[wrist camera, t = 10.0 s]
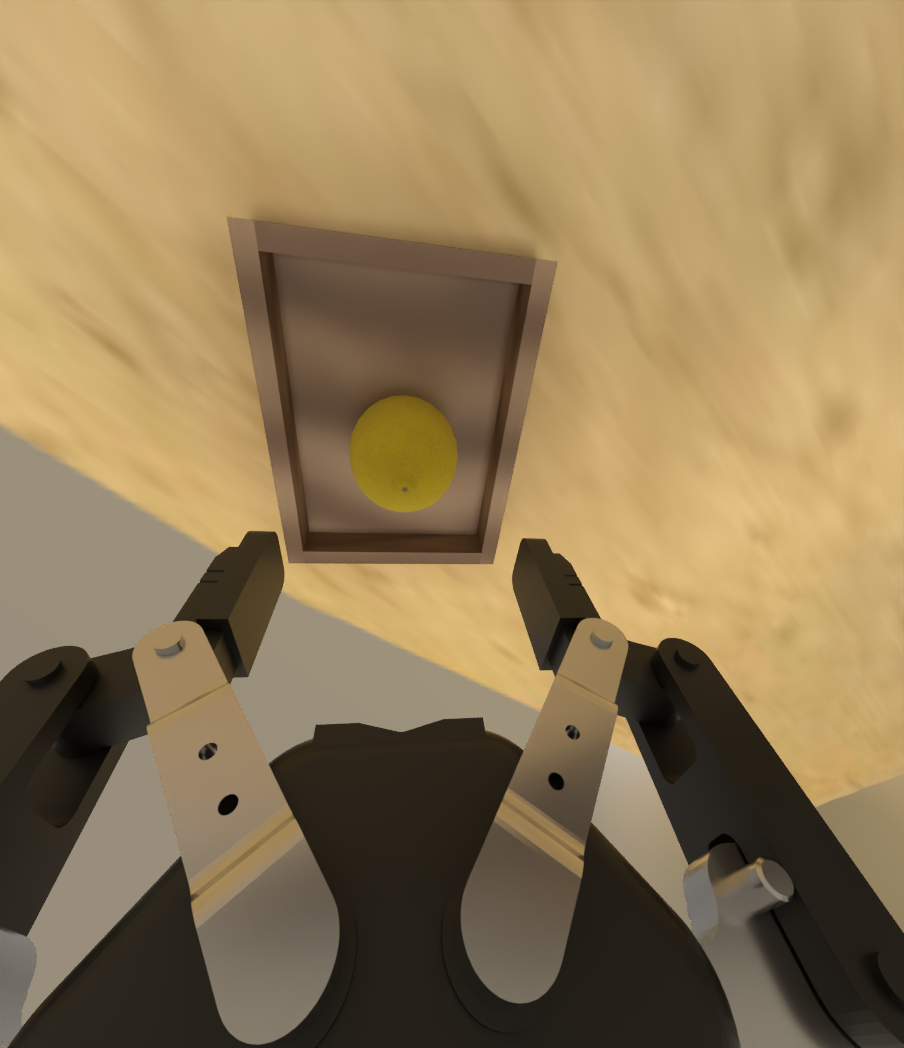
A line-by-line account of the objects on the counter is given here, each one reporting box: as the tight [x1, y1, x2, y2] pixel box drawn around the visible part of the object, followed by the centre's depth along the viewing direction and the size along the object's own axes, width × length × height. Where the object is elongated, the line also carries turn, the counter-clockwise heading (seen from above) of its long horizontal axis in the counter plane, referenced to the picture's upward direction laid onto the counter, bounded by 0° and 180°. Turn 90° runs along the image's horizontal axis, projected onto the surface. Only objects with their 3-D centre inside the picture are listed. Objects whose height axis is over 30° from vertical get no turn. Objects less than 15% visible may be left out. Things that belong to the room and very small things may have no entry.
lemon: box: [349, 395, 458, 512], centre depth 20 cm, size 6×6×8 cm
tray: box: [227, 217, 557, 564], centre depth 22 cm, size 18×14×3 cm
